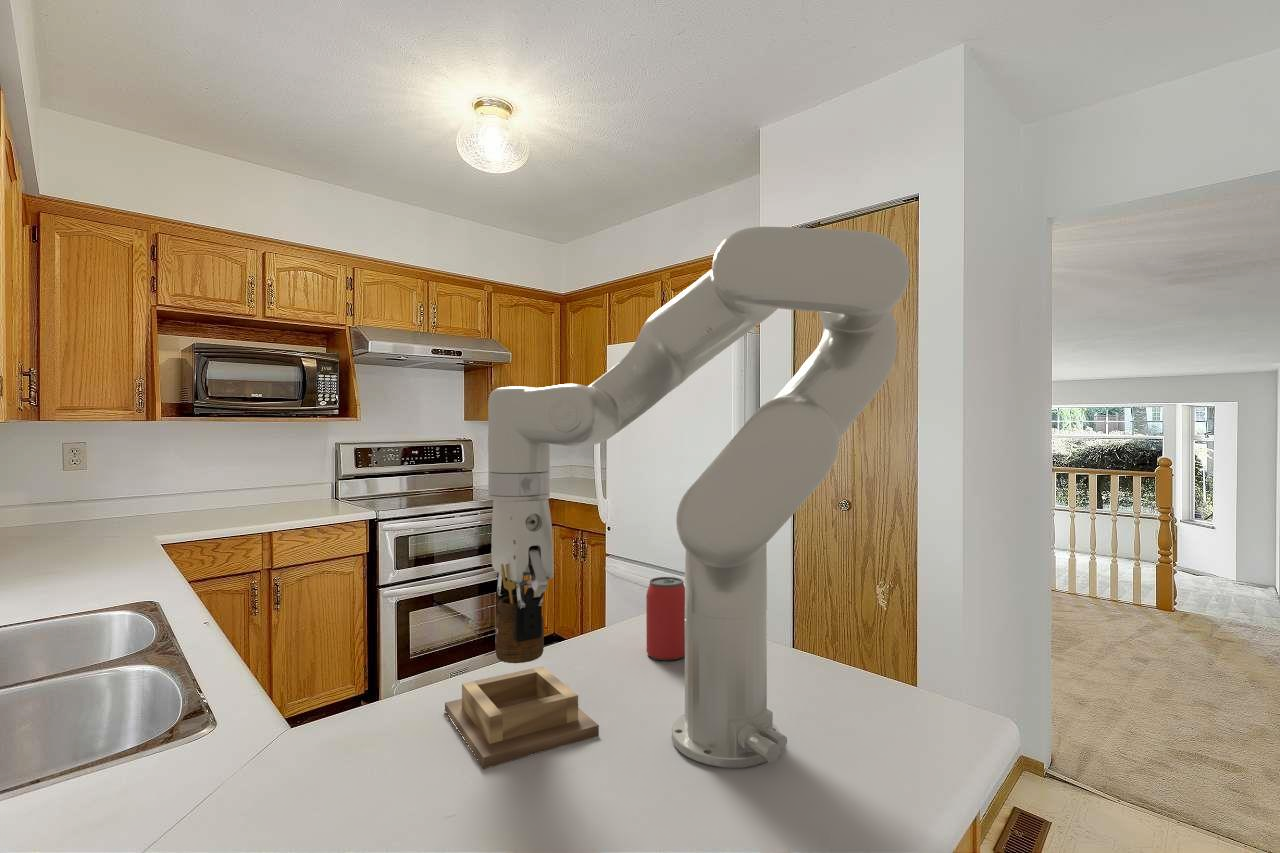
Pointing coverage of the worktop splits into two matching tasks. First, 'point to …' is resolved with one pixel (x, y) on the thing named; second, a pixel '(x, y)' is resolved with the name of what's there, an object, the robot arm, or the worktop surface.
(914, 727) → the worktop surface
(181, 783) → the worktop surface
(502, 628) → the utensil holder
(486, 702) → the socket board
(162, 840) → the worktop surface
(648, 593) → the beer can
